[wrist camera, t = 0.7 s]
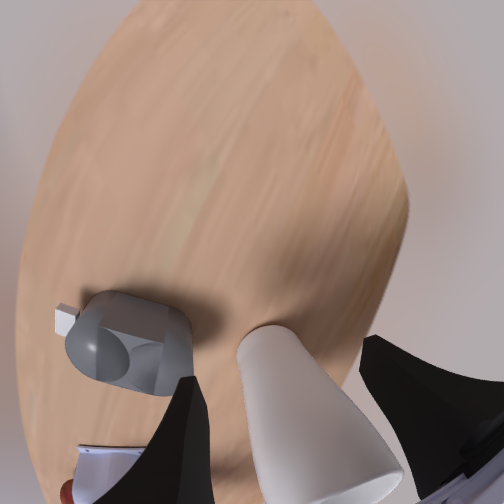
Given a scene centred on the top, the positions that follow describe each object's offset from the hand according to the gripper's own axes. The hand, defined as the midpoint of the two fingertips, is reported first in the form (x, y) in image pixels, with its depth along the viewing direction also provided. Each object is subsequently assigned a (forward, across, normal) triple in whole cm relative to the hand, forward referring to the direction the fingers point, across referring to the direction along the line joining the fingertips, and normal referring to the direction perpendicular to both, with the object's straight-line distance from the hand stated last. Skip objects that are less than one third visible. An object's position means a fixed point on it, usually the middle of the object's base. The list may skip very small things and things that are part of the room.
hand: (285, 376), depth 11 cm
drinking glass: (+10, 0, +7) cm, 12 cm away
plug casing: (+10, +9, +2) cm, 13 cm away
